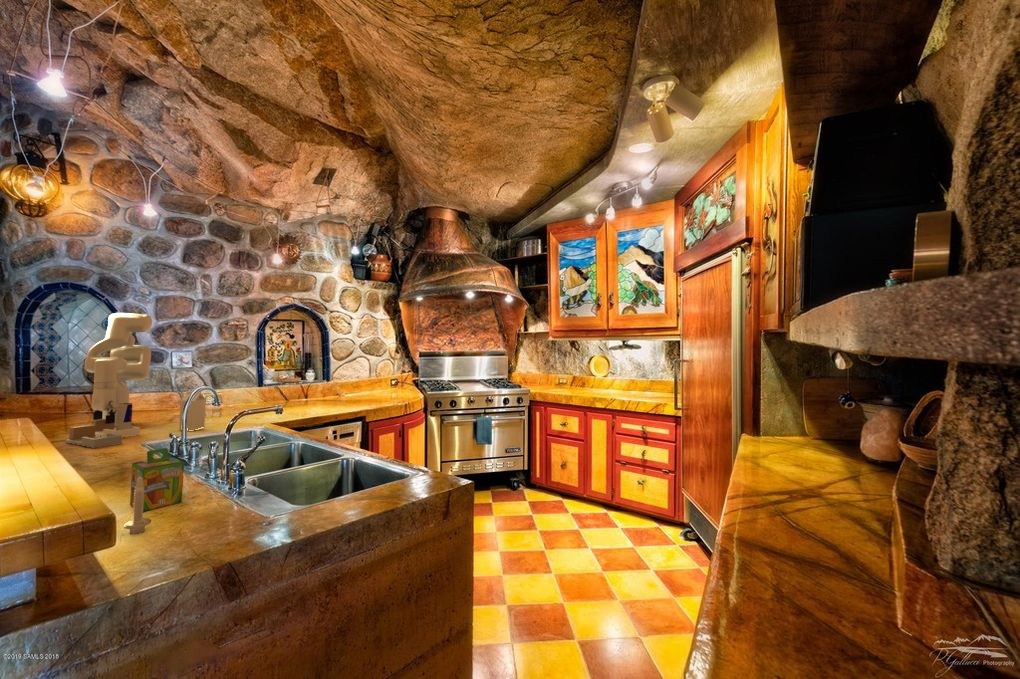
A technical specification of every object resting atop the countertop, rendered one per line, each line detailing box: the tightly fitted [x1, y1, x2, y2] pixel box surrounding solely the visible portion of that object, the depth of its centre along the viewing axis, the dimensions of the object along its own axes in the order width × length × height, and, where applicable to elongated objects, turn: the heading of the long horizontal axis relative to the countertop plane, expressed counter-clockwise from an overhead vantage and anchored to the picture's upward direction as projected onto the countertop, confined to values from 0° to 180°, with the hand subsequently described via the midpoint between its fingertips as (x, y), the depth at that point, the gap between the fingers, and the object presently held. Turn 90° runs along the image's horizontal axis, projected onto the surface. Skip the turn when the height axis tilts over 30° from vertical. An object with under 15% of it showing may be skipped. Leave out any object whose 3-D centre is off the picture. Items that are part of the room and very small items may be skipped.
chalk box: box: [129, 447, 185, 512], centre depth 113 cm, size 9×9×15 cm
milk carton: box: [178, 390, 207, 432], centre depth 202 cm, size 7×7×19 cm
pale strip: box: [91, 419, 141, 439], centre depth 187 cm, size 20×9×6 cm, turn 70°
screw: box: [123, 477, 152, 535], centre depth 96 cm, size 13×5×5 cm
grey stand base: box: [65, 424, 123, 449], centre depth 172 cm, size 20×9×6 cm, turn 70°
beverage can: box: [115, 402, 133, 431], centre depth 185 cm, size 5×5×15 cm
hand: (103, 421), depth 191 cm, fingers open, 9 cm apart
